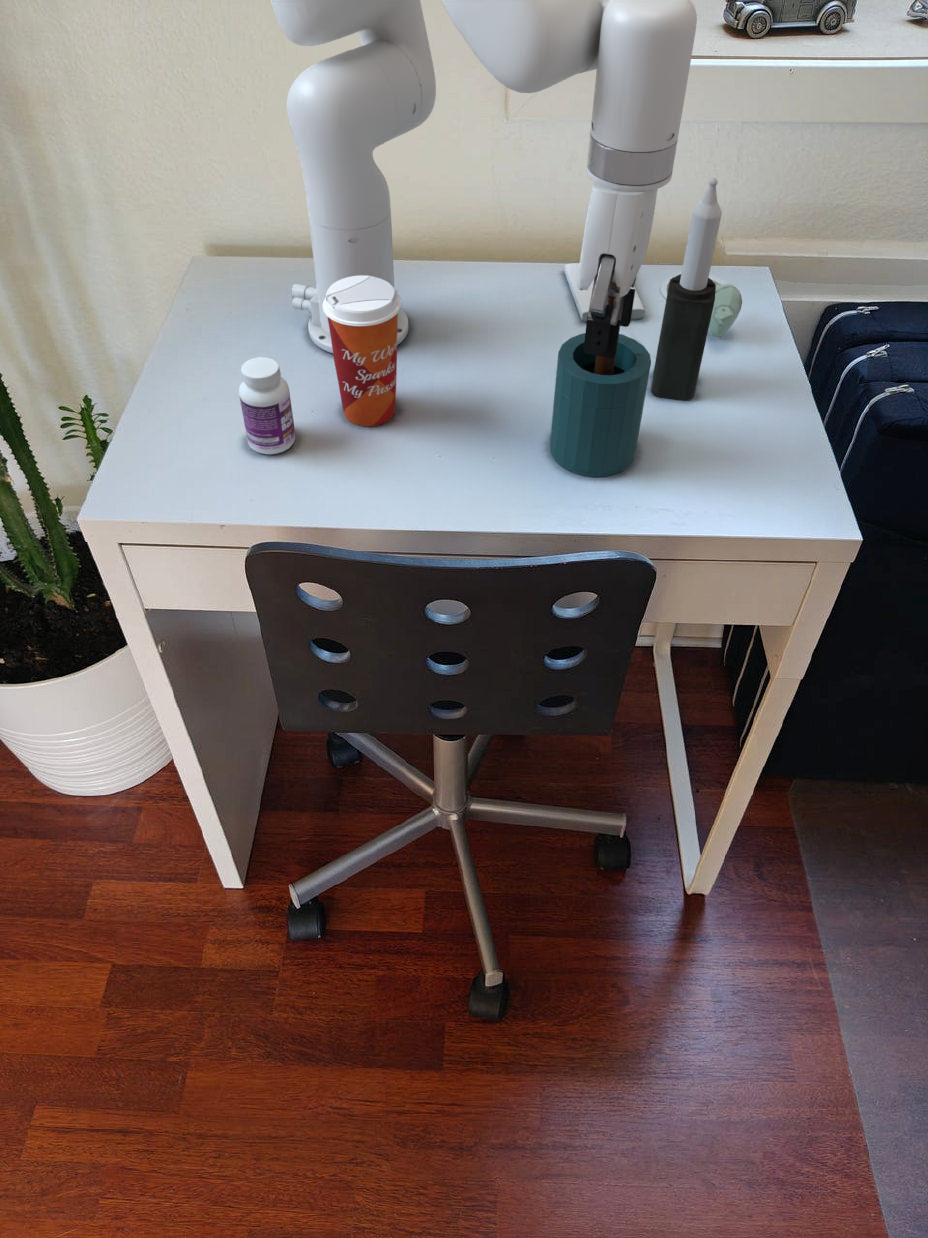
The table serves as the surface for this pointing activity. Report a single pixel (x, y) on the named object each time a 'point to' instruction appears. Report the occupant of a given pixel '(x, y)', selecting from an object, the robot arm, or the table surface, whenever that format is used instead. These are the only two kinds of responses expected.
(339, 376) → the coffee cup
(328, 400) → the table surface
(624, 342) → the teal hollow cylinder
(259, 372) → the pill bottle
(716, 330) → the green toy fish
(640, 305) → the hard drive
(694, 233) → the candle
